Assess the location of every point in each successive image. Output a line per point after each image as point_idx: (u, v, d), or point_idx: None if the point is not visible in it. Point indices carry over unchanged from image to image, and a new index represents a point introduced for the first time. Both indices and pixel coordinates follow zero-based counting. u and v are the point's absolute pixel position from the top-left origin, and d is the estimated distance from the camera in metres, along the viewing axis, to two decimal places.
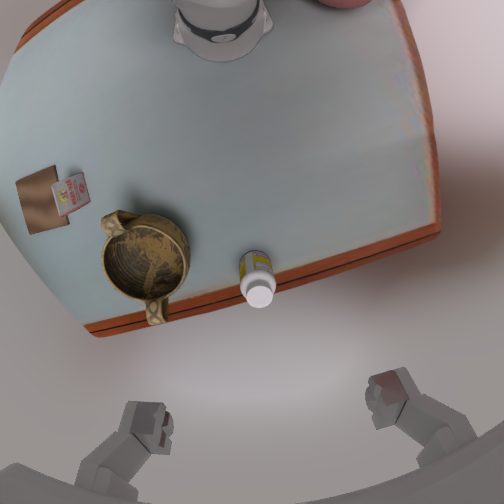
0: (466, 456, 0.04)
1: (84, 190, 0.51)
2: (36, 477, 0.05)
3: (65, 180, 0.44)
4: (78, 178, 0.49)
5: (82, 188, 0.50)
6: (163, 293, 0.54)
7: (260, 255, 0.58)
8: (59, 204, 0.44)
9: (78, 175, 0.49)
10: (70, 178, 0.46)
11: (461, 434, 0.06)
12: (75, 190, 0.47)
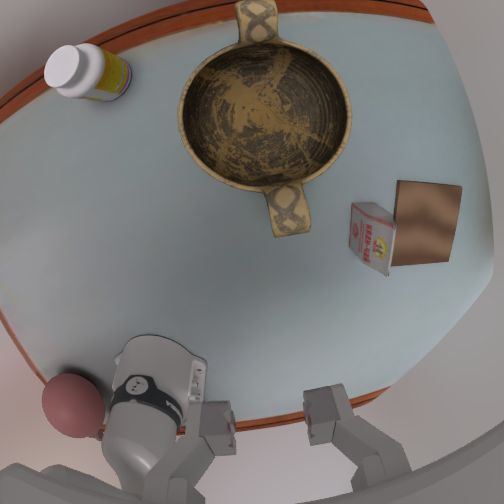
0: (466, 456, 0.04)
1: (354, 224, 0.39)
2: (36, 477, 0.05)
3: (369, 263, 0.35)
4: (355, 246, 0.39)
5: (355, 230, 0.39)
6: (248, 45, 0.23)
7: (95, 100, 0.29)
8: (389, 243, 0.31)
9: (354, 249, 0.39)
10: (362, 259, 0.36)
11: (392, 465, 0.06)
12: (362, 239, 0.36)
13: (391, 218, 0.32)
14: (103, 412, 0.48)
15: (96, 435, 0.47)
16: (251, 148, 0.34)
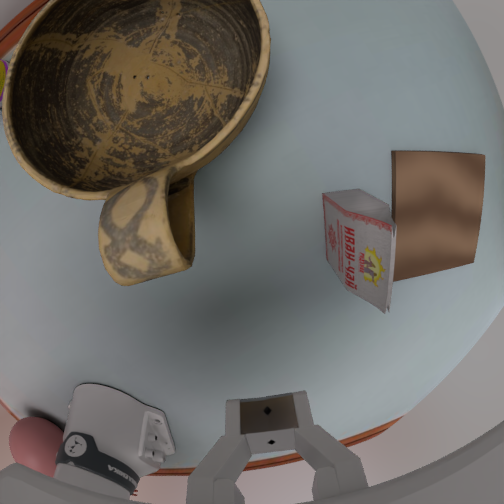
0: (466, 456, 0.04)
1: (329, 227, 0.25)
2: (36, 477, 0.05)
3: (355, 291, 0.21)
4: (334, 261, 0.25)
5: (331, 235, 0.25)
6: None
7: None
8: (385, 259, 0.17)
9: (333, 266, 0.26)
10: (345, 284, 0.23)
11: (347, 479, 0.06)
12: (342, 250, 0.22)
13: (387, 212, 0.19)
14: None
15: None
16: (147, 131, 0.21)
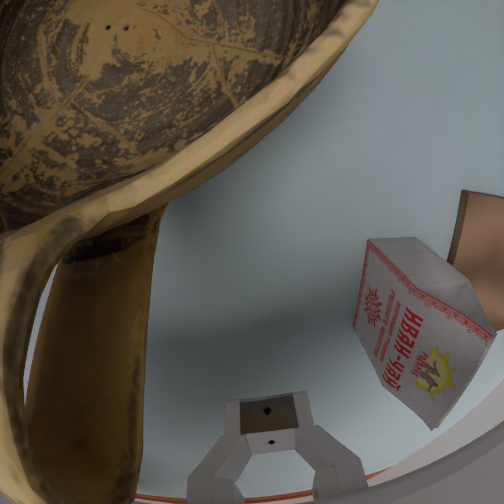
0: (466, 456, 0.04)
1: (369, 291, 0.16)
2: None
3: (396, 392, 0.13)
4: (367, 337, 0.17)
5: (371, 303, 0.16)
6: None
7: None
8: (461, 373, 0.09)
9: (363, 342, 0.17)
10: (381, 377, 0.14)
11: (347, 479, 0.06)
12: (389, 335, 0.14)
13: (471, 296, 0.10)
14: None
15: None
16: (110, 111, 0.12)
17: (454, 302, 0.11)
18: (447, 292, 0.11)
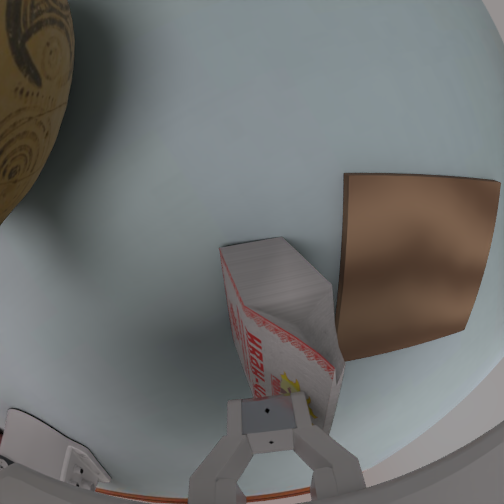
0: (466, 456, 0.04)
1: (230, 304, 0.16)
2: (36, 477, 0.05)
3: None
4: (240, 354, 0.16)
5: (233, 317, 0.16)
6: None
7: None
8: (318, 405, 0.09)
9: (240, 358, 0.16)
10: None
11: (345, 480, 0.06)
12: (246, 355, 0.13)
13: (327, 308, 0.10)
14: None
15: None
16: None
17: (305, 316, 0.11)
18: (294, 305, 0.11)
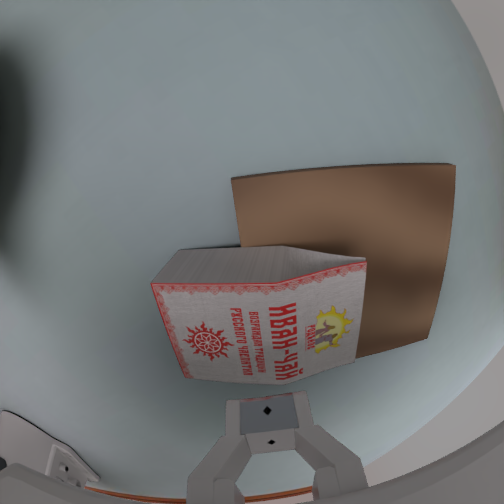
0: (466, 456, 0.04)
1: (190, 332, 0.14)
2: (36, 477, 0.05)
3: (301, 375, 0.15)
4: (221, 371, 0.15)
5: (202, 341, 0.14)
6: None
7: None
8: (353, 307, 0.13)
9: (218, 377, 0.15)
10: (276, 381, 0.14)
11: (347, 479, 0.06)
12: (259, 346, 0.13)
13: (305, 254, 0.14)
14: None
15: None
16: None
17: (296, 269, 0.14)
18: (286, 267, 0.13)
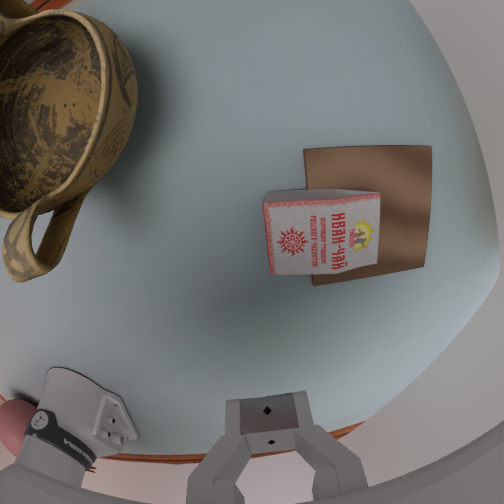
0: (466, 456, 0.04)
1: (283, 234, 0.24)
2: (36, 477, 0.05)
3: (346, 267, 0.24)
4: (297, 265, 0.25)
5: (289, 241, 0.24)
6: (21, 39, 0.11)
7: None
8: (374, 221, 0.23)
9: (294, 271, 0.25)
10: (331, 270, 0.24)
11: (347, 479, 0.06)
12: (324, 242, 0.23)
13: (346, 191, 0.24)
14: None
15: None
16: (74, 153, 0.22)
17: None
18: (337, 196, 0.23)
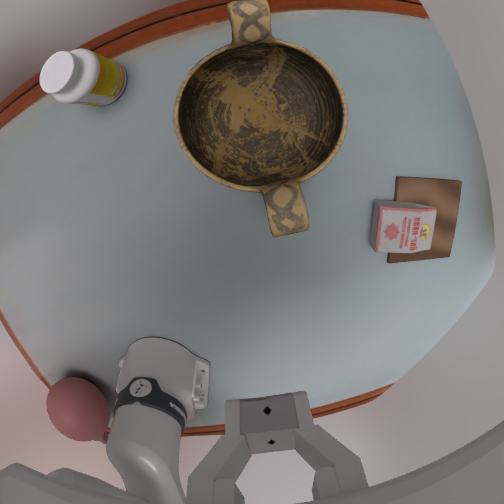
0: (466, 456, 0.04)
1: (387, 227, 0.36)
2: (36, 477, 0.05)
3: (415, 250, 0.37)
4: (391, 246, 0.37)
5: (390, 231, 0.37)
6: (242, 45, 0.23)
7: None
8: (432, 224, 0.36)
9: (389, 250, 0.38)
10: (409, 251, 0.37)
11: (347, 479, 0.06)
12: (408, 233, 0.36)
13: (418, 205, 0.37)
14: (108, 415, 0.48)
15: (101, 438, 0.47)
16: (248, 148, 0.34)
17: None
18: None
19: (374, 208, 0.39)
